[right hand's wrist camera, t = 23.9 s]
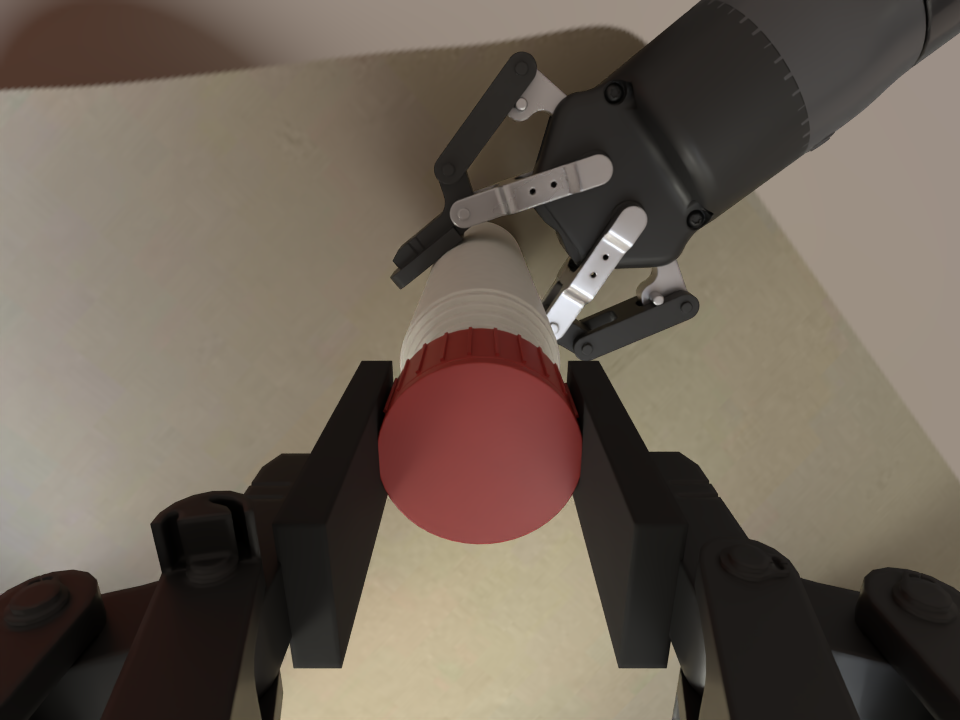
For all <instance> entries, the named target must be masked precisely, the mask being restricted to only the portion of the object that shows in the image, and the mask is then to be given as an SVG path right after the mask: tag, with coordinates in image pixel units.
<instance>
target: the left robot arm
mask: <svg viewBox="0 0 960 720" xmlns="http://www.w3.org/2000/svg"><path fill="white" fill-rule="evenodd" d="M959 33H960V0H701V1H700V2H698V3H697V4H696V5H695V6H694V7H692V8H691V9H690V10H689V11H688V12H687V13H685V14H684V15H683V16H681V17H680V18H679V19H678V20H677V21H675V22H674V23H673V24H672V25H671V26H669V27H668V28H667V29H666V30H664V31H663V32H662V33H661V34H660V35H658V36H657V37H656V38H655V39H654V40H652V41H651V42H650V43H649V44H647V45H646V46H645V47H644V48H643V49H641V50H640V51H639V52H638V53H637V54H635V55H634V56H633V57H632V58H630V59H629V60H628V61H627V62H626V63H624V64H623V65H622V66H621V67H620V68H618V69H617V70H616V71H615V72H613V73H612V74H611V75H610V76H609V77H607V78H606V79H605V80H604V81H603V82H601V83H600V84H599V85H597V86H596V87H595V88H593V89H590V90H587V91H582V92H576V93H572V94H570V95H568V96H567V95H566V94H565V93H563V92H562V91H561V90H560V89H559V88H558V87H557V86H556V85H555V84H553V83H552V82H551V81H550V80H549V79H548V78H547V77H546V76H544V75H543V74H542V73H541V72H540V71H539V70H538V69H537V64H536V61H535V59H534V58H533V56H532V55H530V54H529V53H527V52H517V53H515V54H513V55H512V56H511V57H510V59H509V60H508V61H507V63H506V64H505V66H504V67H503V68H502V70H501V71H500V73H499V74H498V75H497V77H496V78H495V80H494V81H493V82H492V84H491V85H490V87H489V88H488V89H487V91H486V92H485V94H484V95H483V96H482V98H481V99H480V101H479V102H478V103H477V105H476V106H475V108H474V109H473V110H472V112H471V113H470V115H469V116H468V118H467V119H466V120H465V122H464V123H463V125H462V126H461V127H460V129H459V130H458V132H457V133H456V134H455V136H454V137H453V139H452V140H451V141H450V143H449V144H448V146H447V147H446V148H445V150H444V151H443V153H442V154H441V155H440V157H439V158H438V160H437V161H436V163H435V166H434V173H435V176H436V178H437V179H438V180H439V183H440V186H441V189H442V191H443V194H444V198H445V208H444V210H443V212H442V213H441V214H439V215H438V216H437V217H436V218H435V219H433V220H432V221H431V222H430V223H429V224H427V225H426V226H425V227H424V228H423V229H421V230H420V231H419V232H418V233H416V234H415V235H414V236H413V237H412V238H410V239H409V240H408V241H407V242H406V243H404V244H403V245H402V246H401V247H400V249H399V250H398V252H397V254H396V255H395V257H394V259H393V262H394V263H395V264H396V265H397V267H398V268H397V269H396V270H395V271H394V273H393V274H392V276H391V277H390V278H391V279H392V280H393V282H394V283H395V284H396V285H397V286H398V287H399V289H402V288H403V287H405V286H406V285H407V284H409V283H410V282H411V281H412V280H414V279H415V278H416V277H417V276H419V275H420V274H421V273H422V272H424V271H425V270H426V269H427V268H429V267H430V266H431V265H432V264H434V263H435V262H436V261H437V260H439V259H440V258H441V257H442V256H443V255H444V254H445V253H447V252H448V251H450V250H451V249H452V248H453V247H455V246H456V245H457V244H458V243H460V242H461V241H462V240H463V238H464V232H465V231H467V230H468V229H469V228H470V227H472V226H475V225H477V224H480V223H483V222H486V221H489V220H492V219H495V218H498V217H501V216H505V215H510V214H514V213H518V212H521V211H524V210H527V209H530V208H533V207H534V209H535V210H536V211H537V213H538V214H539V215H540V217H541V218H542V219H543V220H544V221H545V222H546V223H547V224H548V225H550V226H551V227H552V228H553V229H555V231H556V234H557V236H558V239H559V242H560V244H561V245H562V247H563V248H564V249H565V251H566V252H567V253H568V255H569V257H568V258H567V260H566V261H565V263H564V264H563V266H562V267H561V269H560V270H559V272H558V275H557V278H556V280H555V282H554V283H553V285H552V286H551V288H550V289H549V291H548V292H547V294H546V295H545V297H544V298H543V300H542V301H541V302H542V305H543V307H544V310H545V312H546V315H547V317H548V320H549V322H550V325H551V327H552V330H553V332H554V335H555V337H556V340H557V344H559V345H561V346H563V347H565V348H566V349H568V350H570V351H571V352H573V353H575V355H576V356H577V358H579V359H580V360H583V361H590V360H593V359H595V358H597V357H600V356H602V355H605V354H607V353H609V352H612V351H614V350H617V349H619V348H621V347H624V346H626V345H629V344H631V343H633V342H636V341H638V340H641V339H643V338H645V337H648V336H650V335H653V334H655V333H657V332H660V331H662V330H665V329H667V328H669V327H672V326H674V325H677V324H679V323H681V322H684V321H686V320H689V319H691V318H693V317H694V316H695V315H696V314H697V312H698V310H699V301H698V299H697V298H696V297H695V296H693V295H692V294H691V293H689V292H688V291H687V289H686V286H685V283H684V280H683V277H682V274H681V272H680V269H679V266H678V263H677V260H676V259H677V258H678V257H679V256H680V254H681V253H682V251H683V249H684V247H685V245H686V244H687V242H688V240H689V239H690V238H691V237H692V235H693V234H694V233H695V232H696V231H697V230H699V229H700V228H702V227H703V226H705V225H706V224H708V223H709V222H711V221H712V220H714V219H715V218H717V217H718V216H719V215H721V214H722V213H724V212H725V211H726V210H728V209H729V208H730V207H732V206H733V205H735V204H736V203H737V202H739V201H740V200H741V199H743V198H744V197H746V196H747V195H748V194H750V193H751V192H752V191H754V190H755V189H757V188H758V187H759V186H761V185H762V184H763V183H765V182H766V181H768V180H769V179H770V178H772V177H773V176H774V175H776V174H777V173H779V172H780V171H781V170H783V169H784V168H785V167H787V166H788V165H790V164H791V163H792V162H794V161H795V160H797V159H798V158H799V157H801V156H802V155H803V154H805V153H807V152H809V151H813V150H814V149H816V148H818V147H819V146H821V145H822V144H823V143H825V142H826V141H827V140H829V139H830V137H831V136H832V135H833V134H834V133H835V131H836V130H838V129H839V128H841V127H842V126H843V125H845V124H846V123H847V122H849V121H850V120H851V119H853V118H854V117H855V116H856V115H858V114H859V113H860V112H862V111H863V110H864V109H865V108H866V107H867V106H869V105H870V104H871V103H872V102H873V101H874V100H875V99H876V98H877V97H878V96H879V95H881V94H882V93H883V92H884V91H885V90H886V89H887V88H888V87H889V86H890V85H891V84H892V83H894V82H895V81H896V80H897V79H898V78H899V77H900V76H902V75H903V74H904V73H905V72H907V71H908V70H909V69H910V68H912V67H913V66H915V65H916V64H918V63H919V62H920V61H921V60H923V59H924V58H926V57H927V56H928V55H930V54H931V53H933V52H934V51H935V50H937V49H938V48H939V47H941V46H942V45H944V44H945V43H946V42H948V41H949V40H950V39H952V38H953V37H954V36H956V35H957V34H959ZM536 112H545V113H547V114H549V115H550V117H549V120H548V124H547V127H546V130H545V134H544V137H543V140H542V144H541V147H540V150H539V154H538V157H537V160H536V164H535V167H534V170H532V171H529V172H526V173H523V174H520V175H517V176H514V177H511V178H509V179H506V180H503V181H500V182H498V183H496V184H493V185H490V186H487V187H484V188H481V189H479V190H476V191H473V189H472V186H471V183H470V180H469V177H468V174H467V171H466V170H467V169H468V168H469V166H470V165H471V164H472V162H473V161H474V160H475V158H476V157H477V156H478V154H479V153H480V151H481V150H482V149H483V147H484V146H485V145H486V143H487V142H488V141H489V139H490V138H491V136H492V135H493V134H494V132H495V131H496V130H497V128H498V127H499V126H500V124H501V123H502V121H503V120H504V119H505V117H506V116H507V117H509V118H510V119H511V120H513V121H515V122H522V121H525V120H527V119H528V118H529V117H530V116H531V115H532V114H534V113H536ZM648 267H652V272H651V275H650V276H649V277H648V278H647V279H646V280H645V281H643V282H642V283H640V284H639V286H638V288H637V290H636V296H635V297H633V298H630V299H628V300H626V301H623V302H621V303H619V304H616V305H614V306H612V307H609V308H607V309H605V310H602V311H600V312H598V313H595V314H593V315H591V316H588V317H586V318H584V319H581V320H579V321H578V320H577V319H575V318H576V317H577V315H578V314H579V312H580V311H581V310H582V308H583V307H584V306H585V305H586V304H588V303H589V302H591V300H592V299H593V298H594V297H595V295H596V294H597V292H598V291H599V290H600V288H601V287H602V285H603V284H604V282H605V281H606V280H607V278H608V277H609V275H610V274H611V273H612V271H613V270H614V269H624V268H648ZM592 272H594V274H593V275H591V273H592Z"/></svg>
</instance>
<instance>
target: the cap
mask: <svg viewBox="0 0 960 720" xmlns="http://www.w3.org/2000/svg"><path fill="white" fill-rule="evenodd" d="M383 412H385V416H384V419H383V422H382V425H381V427H380V430H379V434H378V452H379V466H380V478H381V481H382V483H383V486H384V488H385V490H386V492H387V494H388V495H389V497H390V499H391V500H392V502H393V503H394V504H395V505H396V507H397V508H398V509H399V510H400V511H401V512H402V513H403V514H404V515H405V516H406V517H407V518H408V519H409V520H411V521H412V522H413V523H415V524H416V525H417V526H419V527H421V528H422V529H424V530H426V531H427V532H429V533H432V534H434V535H436V536H439V537H441V538H445V539H448V540H451V541H456V542H461V543H469V544H492V543H499V542H505V541H509V540H513V539H516V538H519V537H521V536H524V535H527V534H529V533H531V532H533V531H534V530H536V529H538V528H540V527H541V526H543V525H544V524H546V523H547V522H548V521H550V520H551V519H552V518H553V517H554V516H555V515H557V514H558V512H559V511H560V510H561V509H562V508H563V507H564V506H565V505H566V503H567V502H568V500H569V499H570V497H571V496H572V494H573V492H574V490H575V488H576V486H577V484H578V481H579V478H580V471H581V457H582V442H583V438H582V434H581V430H580V427H579V424H578V421H577V418H579V415H578V412H577V410H576V407H575V404H574V402H573V399H572V396H571V393H570V391H569V388H568V385H567V383H564V382H563V380H562V377H561V374H560V371H559V368H558V366H557V364H556V363H554V364H553V362H552V361H551V360H550V359H549V358H548V356H547V355H546V354H545V353H543V351H542V348H541V347H540V346H539V347H536V346H535V345H533V344H532V343H531V342H529V341H527V340H525V339H523V338H521V335H519V334H518V335H514V334H512V333H509V332H505V331H501V330H497V328H494V329H487V328H472V327H469V329H464V330H458V331H455V332H452V333H448V332H446V333H444V335H443V336H441V337H439V338H436V339H435V340H433V341H431V342H430V343H428V344H426V343H425V344H423V347H422V348H421V349H420V350H419V351H418V352H417V353H416V354H415V355H414V356H413V357H412V358H411V359H410V360H409V359H407V360H406V362H405V365H404V368H403V370H402V372H401V374H400V376H399V377H398V378H395V380H394V383H393V386H392V389H391V391H390V394H389V397H388V399H387V402H386V405H385V408H384V410H383Z"/></svg>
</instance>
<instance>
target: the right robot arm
mask: <svg viewBox="0 0 960 720" xmlns="http://www.w3.org/2000/svg"><path fill="white" fill-rule="evenodd" d="M567 385H568V388H569V391H570V393H571V396H572V399H573V402H574V404H575V407H576V410H577V412H578V415H579V418H577V421H578V424H579V427H580V430H581V434H582V438H583V442H582V457H581V471H580V478H579V481H578V484H577V486H576V488H575V490H574V492H573V498H574V501H575V505H576V509H577V513H578V516H579V520H580V524H581V528H582V532H583V535H584V539H585V543H586V547H587V550H588V554H589V558H590V562H591V565H592V569H593V573H594V577H595V581H596V584H597V588H598V592H599V596H600V599H601V603H602V607H603V611H604V614H605V618H606V622H607V626H608V630H609V633H610V637H611V641H612V645H613V648H614V652H615V656H616V660H617V663H618V667H619V668H667V663H668V656H669V650H670V643H671V642H672V645H673V647H674V650H675V652H676V655H677V658H678V660H679V663H680V665H681V668H680V674H679V680H678V686H677V692H676V698H675V704H674V710H673V717H672V720H960V592H959V591H958V590H956V589H955V588H953V587H951V586H949V585H947V584H945V583H943V582H941V581H939V580H937V579H935V578H933V577H931V576H928V575H926V574H923V573H919V572H916V571H912V570H908V569H899V568H890V567H887V568H881V569H875V570H872V571H871V572H870V573H869V574H868V575H867V576H865V577H864V581H863V584H862V587H861V591H860V592H858V591H853V590H849V589H844V588H839V587H835V586H830V585H826V584H821V583H817V582H813V581H810V580H806V579H803V578H800V576H799V574H798V572H797V570H796V569H795V568H794V566H793V565H792V563H791V562H790V560H788V559H787V558H786V557H785V556H783V555H782V554H781V553H779V552H778V551H777V550H775V549H773V548H771V547H769V546H767V545H765V544H763V543H760V542H758V541H755V540H751V539H749V538H748V537H747V536H746V534H745V533H744V531H743V530H742V528H741V527H740V525H739V524H738V522H737V521H736V519H735V518H734V517H733V515H732V514H731V512H730V511H729V509H728V508H727V506H726V505H725V503H724V502H723V500H722V499H721V498H720V497H718V493H717V492H716V490H715V489H714V487H713V486H712V484H709V480H708V479H707V477H706V476H705V474H704V473H703V471H702V470H701V468H700V467H699V465H697V464H696V463H694V462H693V461H692V460H690V459H689V458H687V457H686V456H684V455H683V454H681V453H680V452H649V451H648V449H647V447H646V446H645V444H644V442H643V440H642V438H641V437H640V435H639V433H638V431H637V429H636V427H635V426H634V424H633V422H632V420H631V418H630V417H629V415H628V413H627V411H626V409H625V408H624V406H623V404H622V402H621V400H620V399H619V397H618V395H617V393H616V391H615V390H614V388H613V386H612V384H611V382H610V380H609V379H608V377H607V375H606V373H605V371H604V370H603V368H602V366H601V364H600V362H599V361H568V374H567ZM392 386H393V367H392V361H361V363H360V365H359V367H358V369H357V370H356V372H355V374H354V376H353V378H352V379H351V381H350V383H349V385H348V387H347V388H346V390H345V392H344V394H343V396H342V397H341V399H340V401H339V403H338V405H337V407H336V408H335V410H334V412H333V414H332V416H331V417H330V419H329V421H328V423H327V425H326V426H325V428H324V430H323V432H322V434H321V435H320V437H319V439H318V441H317V443H316V445H315V446H314V448H313V450H312V452H311V454H280V455H279V456H278V457H276V458H275V459H273V460H272V461H270V462H269V463H267V464H266V465H265V466H263V467H262V468H261V470H260V471H259V473H258V474H257V476H256V477H255V479H254V480H253V482H252V486H249V487H248V489H247V490H246V492H245V493H244V494H241V493H237V492H233V491H211V492H206V493H201V494H196V495H192V496H190V497H187V498H185V499H182V500H180V501H178V502H175V503H174V504H172V505H170V506H169V507H167V508H166V509H164V510H163V511H161V512H160V513H159V514H158V515H157V516H156V518H155V519H154V520H153V521H152V522H151V524H150V525H151V529H152V533H153V537H154V542H155V546H156V550H157V554H158V558H159V562H160V566H161V571H162V575H161V577H160V579H159V581H156V582H153V583H149V584H146V585H142V586H137V587H132V588H128V589H123V590H119V591H114V592H109V593H105V594H101V593H100V589H99V586H98V582H97V580H96V579H95V578H94V577H93V576H92V575H91V574H90V573H88V572H83V571H78V570H66V571H57V572H51V573H48V574H44V575H41V576H37V577H34V578H32V579H29V580H27V581H25V582H23V583H21V584H19V585H17V586H15V587H13V588H11V589H9V590H7V591H6V592H5V593H3V594H2V595H0V720H280V717H281V708H282V699H283V687H282V680H281V674H280V667H281V664H282V662H283V659H284V656H285V654H286V651H287V648H288V646H289V643H290V647H291V654H292V661H293V667H294V668H342V665H343V661H344V657H345V654H346V650H347V646H348V642H349V638H350V635H351V631H352V627H353V623H354V620H355V616H356V612H357V608H358V605H359V601H360V597H361V593H362V589H363V586H364V582H365V578H366V574H367V571H368V567H369V563H370V559H371V556H372V552H373V548H374V544H375V540H376V537H377V533H378V529H379V525H380V522H381V518H382V514H383V510H384V507H385V503H386V499H387V495H388V494H387V492H386V490H385V488H384V486H383V483H382V481H381V478H380V466H379V452H378V434H379V430H380V427H381V425H382V422H383V419H384V416H385V412H383V410H384V408H385V405H386V402H387V399H388V397H389V394H390V391H391V389H392Z"/></svg>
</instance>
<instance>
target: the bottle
mask: <svg viewBox="0 0 960 720" xmlns="http://www.w3.org/2000/svg"><path fill="white" fill-rule="evenodd" d="M469 327H472V328H487V329H494V328H497V330H501V331H505V332H509V333H512V334H514V335H518V334H519V335H521V338H523V339H525V340H527V341H529V342H531V343H532V344H533V345H535V346H536V347H539V346H540V347H541V348H542V351H543V353H545V354H546V355H547V356H548V358H549V359H550V360H551V361H552V362H553V364H554V363H556V364H557V366H558V368H559V371H560V354H559V347H558V344H557V340H556V337H555V335H554V332H553V330H552V327H551V325H550V322H549V320H548V317H547V315H546V312H545V310H544V307H543V305H542V302H541V300H540V297H539V295H538V292H537V289H536V287H535V284H534V282H533V279H532V277H531V274H530V272H529V269H528V267H527V264H526V262H525V259H524V257H523V254H522V252H521V249H520V247H519V245H518V243H517V241H516V240H515V238H514V237H513V236H512V235H511V234H510V233H509V232H508V231H507V230H505V229H504V228H503V227H501V226H499V225H497V224H494V223H490V222H483V223H480V224H477V225H475V226H472V227H470V228H469V229H468V230H467V231H465V232H464V238H463V240H462V241H461V242H460V243H458V244H457V245H456V246H455V247H453V248H452V249H451V250H450V251H448V252H447V253H445V254H444V255H443V256H442V257H441V258H440V259H439V260H437V261H436V262H435V263H434V264H433V267H432V269H431V272H430V274H429V277H428V279H427V282H426V284H425V287H424V289H423V292H422V294H421V297H420V300H419V302H418V305H417V307H416V310H415V312H414V315H413V317H412V320H411V322H410V325H409V327H408V330H407V332H406V335H405V338H404V341H403V344H402V348H401V353H400V371H401V372H402V370H403V368H404V365H405V362H406V360H407V359H409V360H410V359H411V358H412V357H413V356H414V355H415V354H416V353H417V352H418V351H419V350H420V349H421V348H422V347H423V344H425V343H426V344H428V343H430V342H431V341H433V340H435V339H436V338H439V337H441V336H443V335H444V333H446V332H448V333H452V332H455V331H458V330H464V329H469Z"/></svg>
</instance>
